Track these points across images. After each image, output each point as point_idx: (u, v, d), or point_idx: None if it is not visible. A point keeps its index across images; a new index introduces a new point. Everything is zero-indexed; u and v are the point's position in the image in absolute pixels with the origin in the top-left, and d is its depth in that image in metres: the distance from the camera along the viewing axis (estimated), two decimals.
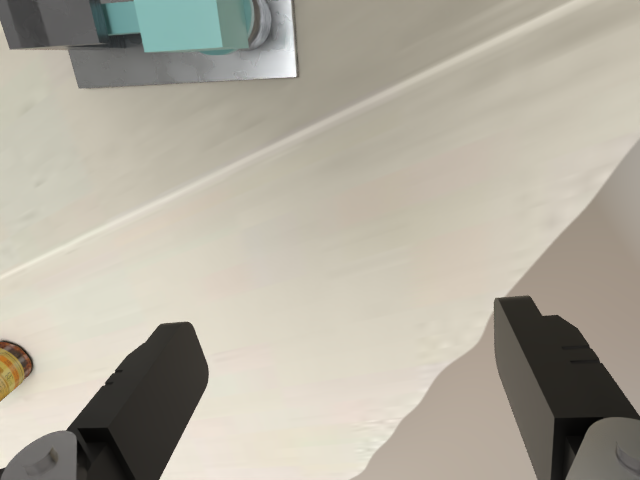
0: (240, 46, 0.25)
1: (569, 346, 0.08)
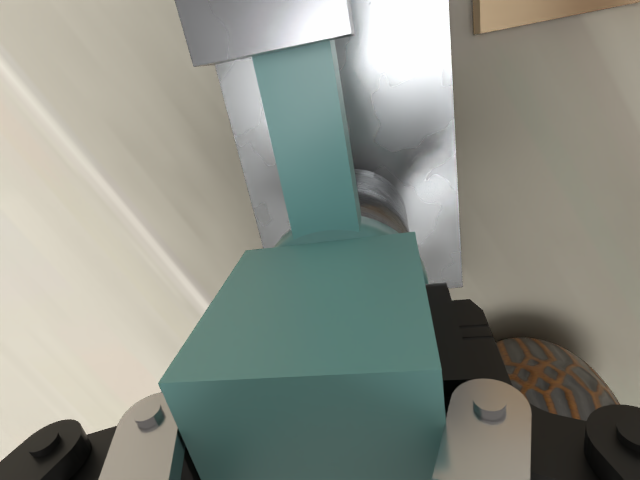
0: None
1: (471, 325, 0.09)
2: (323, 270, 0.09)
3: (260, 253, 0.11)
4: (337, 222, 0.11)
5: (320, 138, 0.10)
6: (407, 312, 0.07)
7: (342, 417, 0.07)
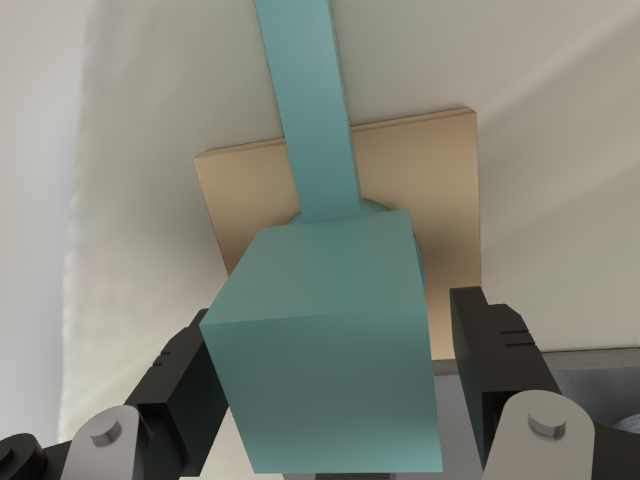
0: None
1: (510, 331, 0.09)
2: (329, 241, 0.11)
3: (273, 230, 0.13)
4: (340, 202, 0.12)
5: (326, 128, 0.11)
6: (400, 268, 0.09)
7: (348, 349, 0.08)
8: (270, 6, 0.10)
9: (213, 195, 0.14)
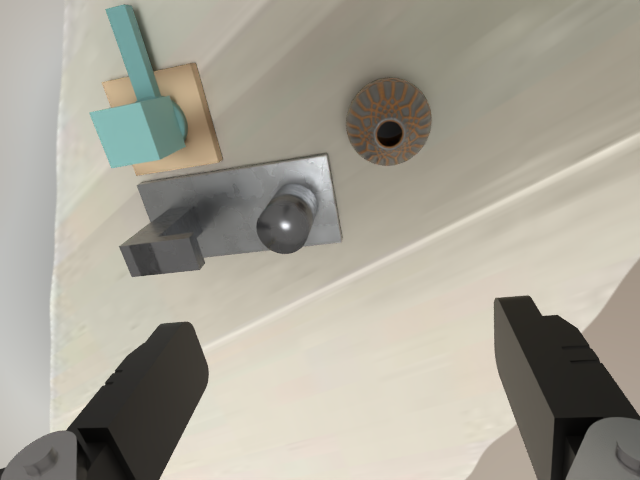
0: None
1: (569, 346, 0.08)
2: None
3: (127, 104, 0.37)
4: (148, 93, 0.37)
5: (139, 67, 0.36)
6: None
7: (126, 117, 0.33)
8: (116, 29, 0.35)
9: (110, 96, 0.38)
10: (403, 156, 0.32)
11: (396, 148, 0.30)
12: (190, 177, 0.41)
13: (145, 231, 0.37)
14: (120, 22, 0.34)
